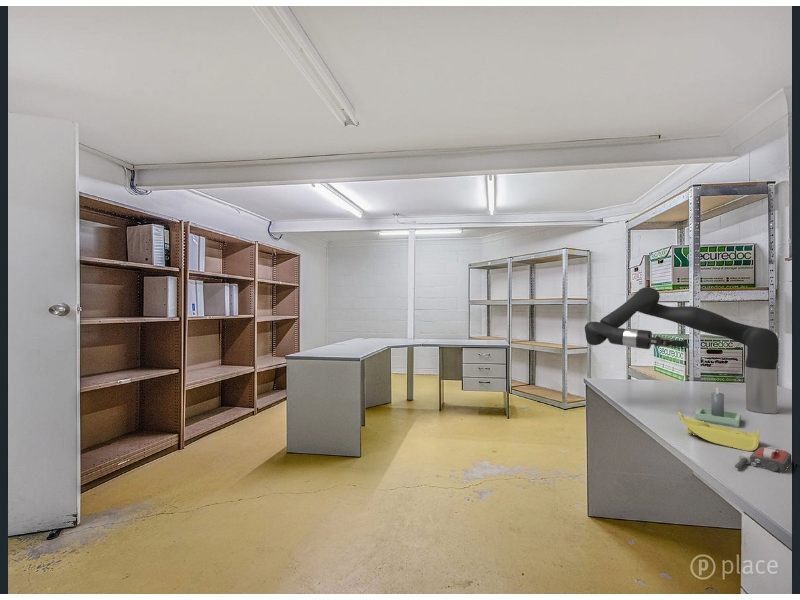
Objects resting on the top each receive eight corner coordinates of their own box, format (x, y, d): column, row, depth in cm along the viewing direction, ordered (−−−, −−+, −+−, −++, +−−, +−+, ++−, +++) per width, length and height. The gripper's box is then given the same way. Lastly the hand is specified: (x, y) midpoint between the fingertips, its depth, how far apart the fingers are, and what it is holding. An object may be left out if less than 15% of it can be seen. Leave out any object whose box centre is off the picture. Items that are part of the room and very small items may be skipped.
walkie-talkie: (750, 453, 111) (731, 471, 99) (750, 437, 111) (731, 453, 99) (793, 463, 104) (779, 483, 92) (793, 446, 105) (778, 464, 92)
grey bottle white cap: (712, 416, 145) (711, 386, 145) (724, 418, 143) (724, 388, 143) (711, 418, 143) (710, 388, 143) (723, 420, 140) (723, 389, 140)
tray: (699, 414, 151) (699, 407, 151) (740, 420, 143) (740, 413, 143) (695, 420, 142) (695, 413, 143) (738, 427, 134) (738, 420, 134)
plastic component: (759, 435, 119) (759, 427, 113) (757, 459, 117) (757, 453, 111) (680, 417, 133) (676, 409, 126) (677, 439, 131) (673, 432, 124)
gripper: (634, 329, 155) (684, 334, 144) (641, 329, 166) (688, 334, 155) (632, 348, 155) (682, 355, 144) (639, 347, 166) (687, 353, 155)
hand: (685, 344), depth 149 cm, fingers open, 8 cm apart
